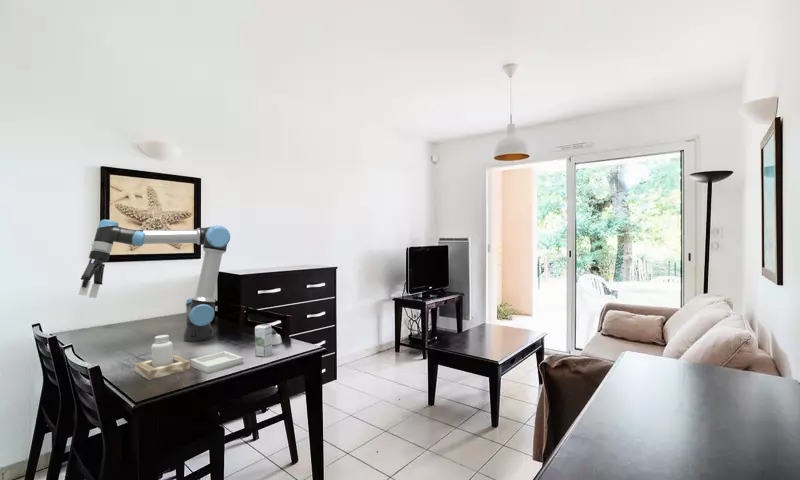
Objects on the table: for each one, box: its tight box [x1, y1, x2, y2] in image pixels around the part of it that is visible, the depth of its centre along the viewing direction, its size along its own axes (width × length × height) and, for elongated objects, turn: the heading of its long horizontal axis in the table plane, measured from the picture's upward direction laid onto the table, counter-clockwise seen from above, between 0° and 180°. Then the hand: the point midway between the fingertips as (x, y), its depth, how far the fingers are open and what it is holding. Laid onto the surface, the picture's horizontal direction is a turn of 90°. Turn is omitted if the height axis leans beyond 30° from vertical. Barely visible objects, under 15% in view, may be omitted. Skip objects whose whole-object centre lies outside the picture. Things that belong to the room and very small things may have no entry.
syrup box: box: [254, 324, 273, 358], centre depth 192 cm, size 6×6×14 cm
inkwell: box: [272, 328, 283, 346], centre depth 209 cm, size 9×18×10 cm, turn 15°
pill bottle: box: [150, 334, 174, 368], centre depth 171 cm, size 8×8×15 cm
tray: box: [190, 350, 244, 375], centre depth 178 cm, size 16×16×3 cm
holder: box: [134, 354, 191, 381], centre depth 171 cm, size 16×16×4 cm
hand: (87, 296), depth 182 cm, fingers open, 13 cm apart
